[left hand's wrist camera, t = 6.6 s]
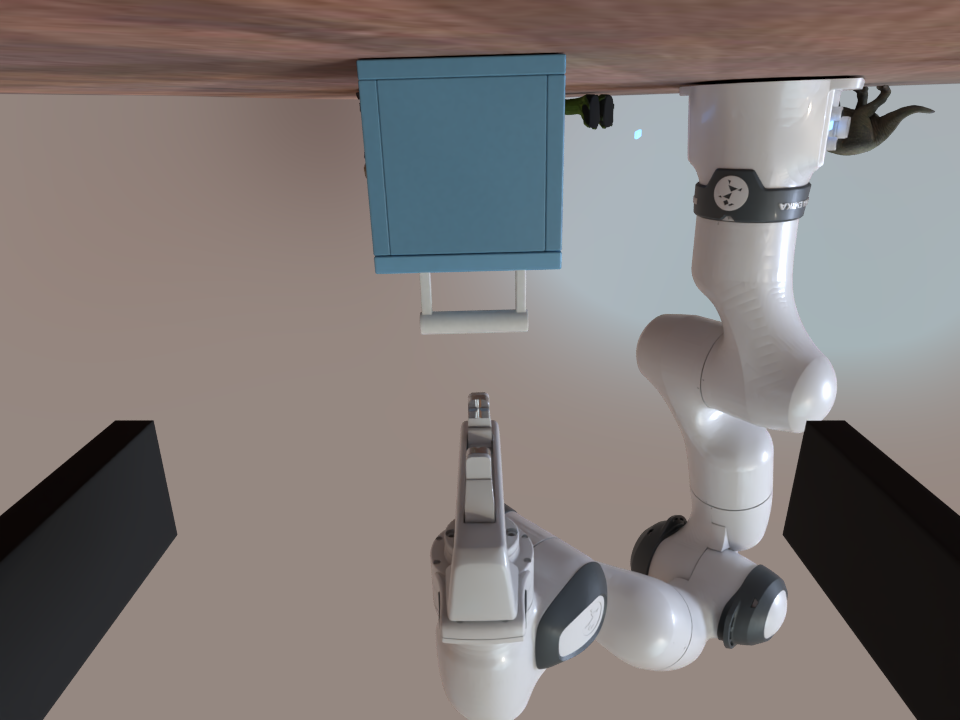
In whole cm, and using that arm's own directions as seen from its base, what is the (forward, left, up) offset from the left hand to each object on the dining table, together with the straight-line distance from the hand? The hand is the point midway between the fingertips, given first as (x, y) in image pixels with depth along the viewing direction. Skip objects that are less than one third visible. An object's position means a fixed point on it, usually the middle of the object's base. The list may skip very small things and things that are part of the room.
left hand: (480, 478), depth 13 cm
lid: (+25, -11, 0) cm, 28 cm away
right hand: (+30, -13, +15) cm, 36 cm away
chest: (+25, -11, -9) cm, 29 cm away
